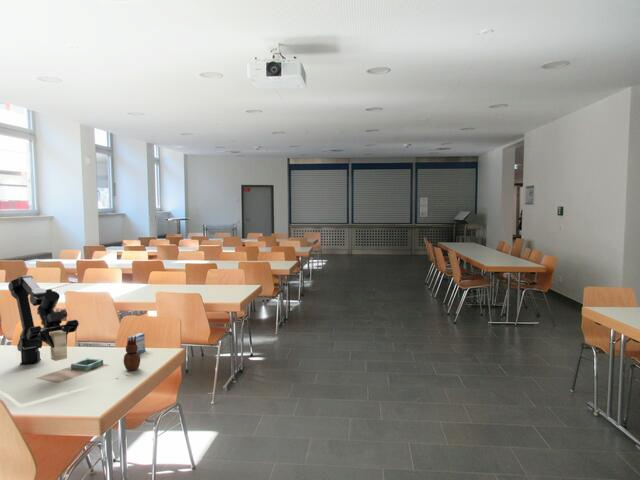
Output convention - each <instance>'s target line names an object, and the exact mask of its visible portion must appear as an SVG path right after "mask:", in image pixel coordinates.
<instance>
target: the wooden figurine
mask: <svg viewBox="0 0 640 480" xmlns="http://www.w3.org/2000/svg"><path fill="white" fill-rule="evenodd" d="M134 335H135V334H134ZM126 342H127V343H126V347H125V352H126V353H125V354H124V356H123V366H124V368H125V370H127V371H129V372H131V371H132V372H133V371H137V370H138V369H139V367H140V365H141V355H140V353H137V345H136V335H135V337H134V341H133V337H131V340H130V339H129V341H128V340H127V341H126Z"/></svg>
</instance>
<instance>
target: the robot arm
mask: <svg viewBox="0 0 640 480" xmlns="http://www.w3.org/2000/svg"><path fill="white" fill-rule="evenodd" d="M8 290H9V292H10V295H11V296H12V297H13V298H14V299H15V300H16V304H17V308H18V312H19V318H20V324H21V329H22V331H21V333H20V334H19V340H18V343H17V351H18V352H20V357H21V361H20V363H19V365H34V364H37V363H38V362H40V361H42V359H41V352H40V351H41V350H40V349H42V348H43V347H42V346H43V343H45V344H47V345H48V346H49V347H50V348H51V347H52V348H54V343H53V341H52V339H51V337H50V333H51V332H57V331H64V332H66V343H67V344H68V334H69V333H74V332H76V331H77V329H78V327H79V325H80V322H79V321H78V320H77V319H70V320H67V321H66V323H65V324H62V322H63V321H62V320H64V319H65V318H67V317H68V312H67V310H66V309H60V310H59V311H56V312H55V309H54V308H56V306H57V304H58V302H59V300H60V293H58V292H57V291H54V290H52V288H48V289H46V288H42V287H40V285H39V284H37V282H36V281H35V280H34V278H33V276H32V275H29V274H28V275H21V276H18V277H17V278H15V279H13V280H11V281H10V282H9V283H8ZM30 303H31V304H32V306H33V307H37V308H36V310H37V312H36V313H37V315H39V318H40V321H41V322H40V324H41V325H42V327H41V326H40V325H35V324H34V319H33V314H32V309H31V304H30Z"/></svg>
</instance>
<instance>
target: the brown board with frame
mask: <svg viewBox="0 0 640 480" xmlns="http://www.w3.org/2000/svg"><path fill="white" fill-rule="evenodd" d="M107 366H109V364H106V363H105V364H104V359H96V358H95V359H94V358H84V359H82V360H79V361H76V362H74V363H71V364H70V366H67V367H65V368H62V369H59V370H56V371H53V372H51V373H46V374H44V375H41V376H38V377H36V379H38V380H41V381H42V380H43V381H47V382H51V383H57V384H60V383H62V382H65V381H68V380H71V379H74V378H77V377H79V376H82V375H86V374H88V373H91V372H93V371H96V370H99V369H102V368H105V367H107Z"/></svg>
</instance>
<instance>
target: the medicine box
mask: <svg viewBox="0 0 640 480" xmlns="http://www.w3.org/2000/svg"><path fill="white" fill-rule="evenodd" d="M135 335H136V345H137V353H139V354H141V353H144V351H146V337H145V335H146V334H145V333H144V332H143V333H142V332H141V333H135V334H132V335H130V336H128V337H127V342H128V341H129V339H130V340H131V337H133V341H134V337H135Z"/></svg>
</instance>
